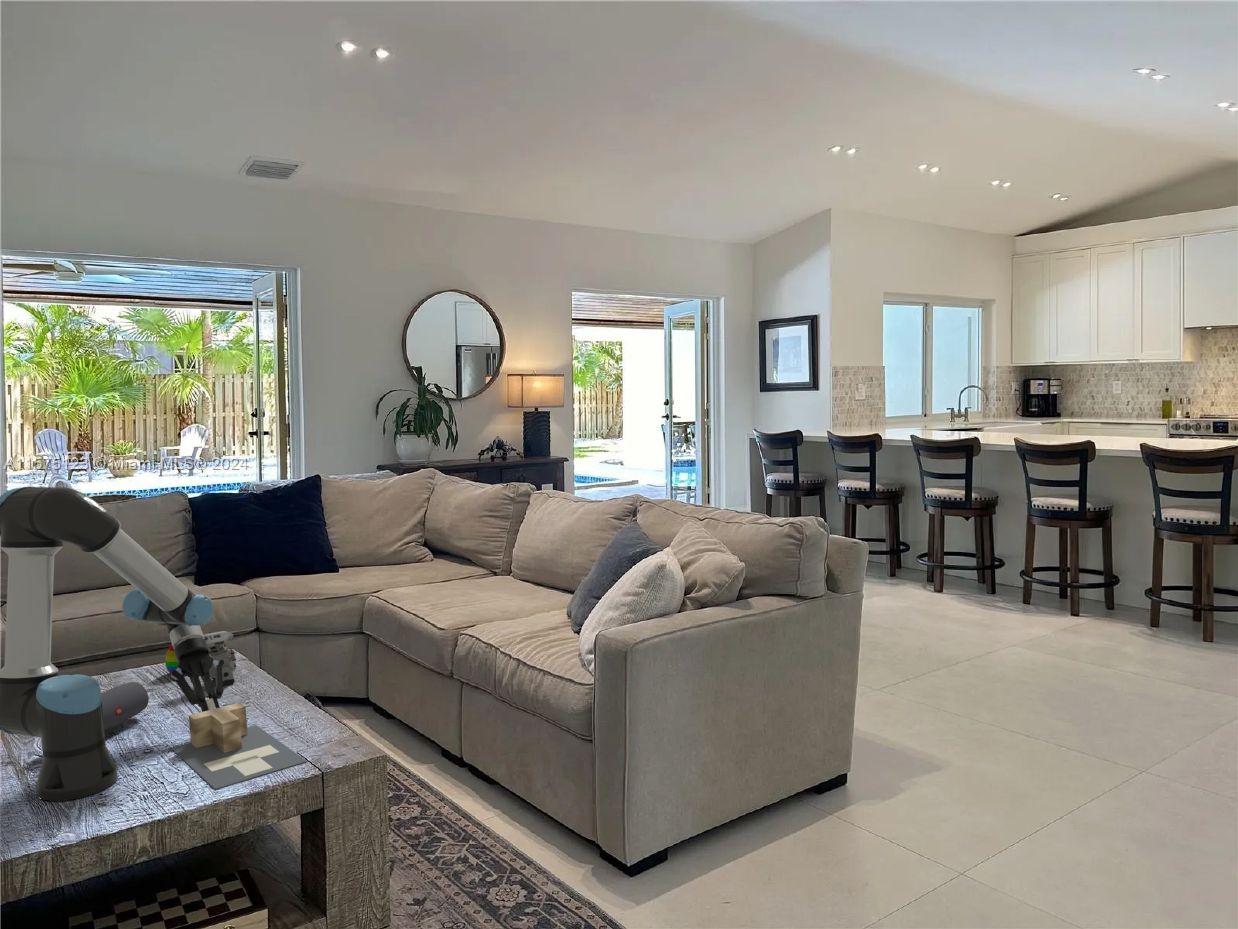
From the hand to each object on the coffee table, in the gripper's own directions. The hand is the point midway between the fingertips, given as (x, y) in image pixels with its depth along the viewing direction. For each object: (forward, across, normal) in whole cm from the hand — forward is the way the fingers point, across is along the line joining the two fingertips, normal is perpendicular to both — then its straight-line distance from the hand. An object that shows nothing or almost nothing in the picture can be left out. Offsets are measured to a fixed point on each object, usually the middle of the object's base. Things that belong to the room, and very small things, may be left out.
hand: (215, 724), depth 226 cm
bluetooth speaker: (-14, +19, -19) cm, 31 cm away
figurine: (-28, -14, -33) cm, 46 cm away
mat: (+14, +1, +10) cm, 17 cm away
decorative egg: (-42, -10, -47) cm, 63 cm away
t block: (+7, 0, +3) cm, 8 cm away
